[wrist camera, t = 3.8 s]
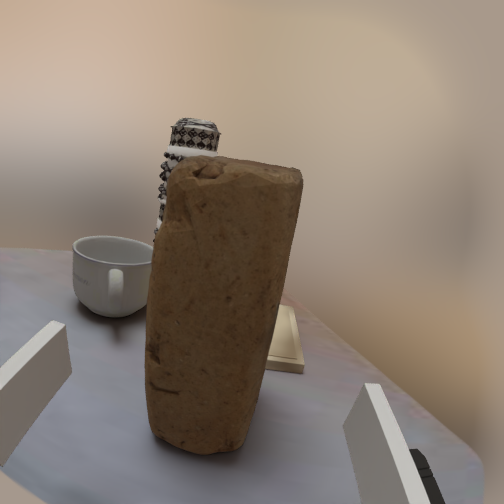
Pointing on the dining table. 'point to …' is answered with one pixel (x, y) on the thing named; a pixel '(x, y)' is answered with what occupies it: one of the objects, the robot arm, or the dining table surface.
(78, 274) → the teacup
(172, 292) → the block
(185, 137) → the decorative candle
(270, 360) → the beige packet
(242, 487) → the dining table surface
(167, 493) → the dining table surface
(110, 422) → the dining table surface
